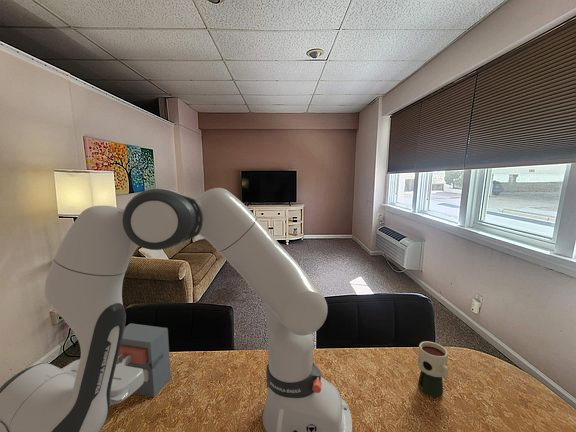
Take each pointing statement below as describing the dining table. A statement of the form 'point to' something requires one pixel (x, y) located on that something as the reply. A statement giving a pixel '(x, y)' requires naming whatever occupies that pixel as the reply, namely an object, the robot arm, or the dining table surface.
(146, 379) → the pale button
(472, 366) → the dining table surface
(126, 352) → the red button
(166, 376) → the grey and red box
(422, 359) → the character mug
